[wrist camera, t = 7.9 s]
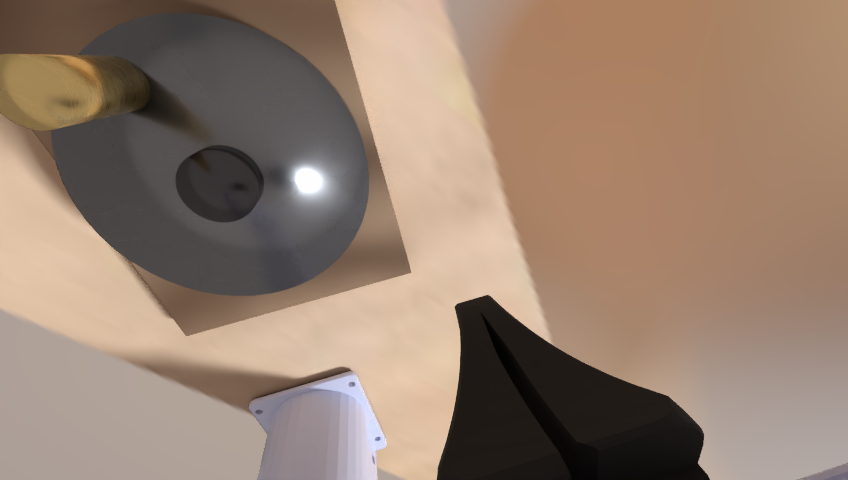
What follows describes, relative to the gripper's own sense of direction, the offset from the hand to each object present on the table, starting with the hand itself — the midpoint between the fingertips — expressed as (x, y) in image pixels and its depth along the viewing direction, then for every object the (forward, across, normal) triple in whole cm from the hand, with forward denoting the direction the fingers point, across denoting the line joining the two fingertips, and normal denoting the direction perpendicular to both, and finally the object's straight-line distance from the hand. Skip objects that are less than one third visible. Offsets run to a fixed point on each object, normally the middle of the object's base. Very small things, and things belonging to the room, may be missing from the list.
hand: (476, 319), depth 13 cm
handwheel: (+8, +9, -6) cm, 13 cm away
